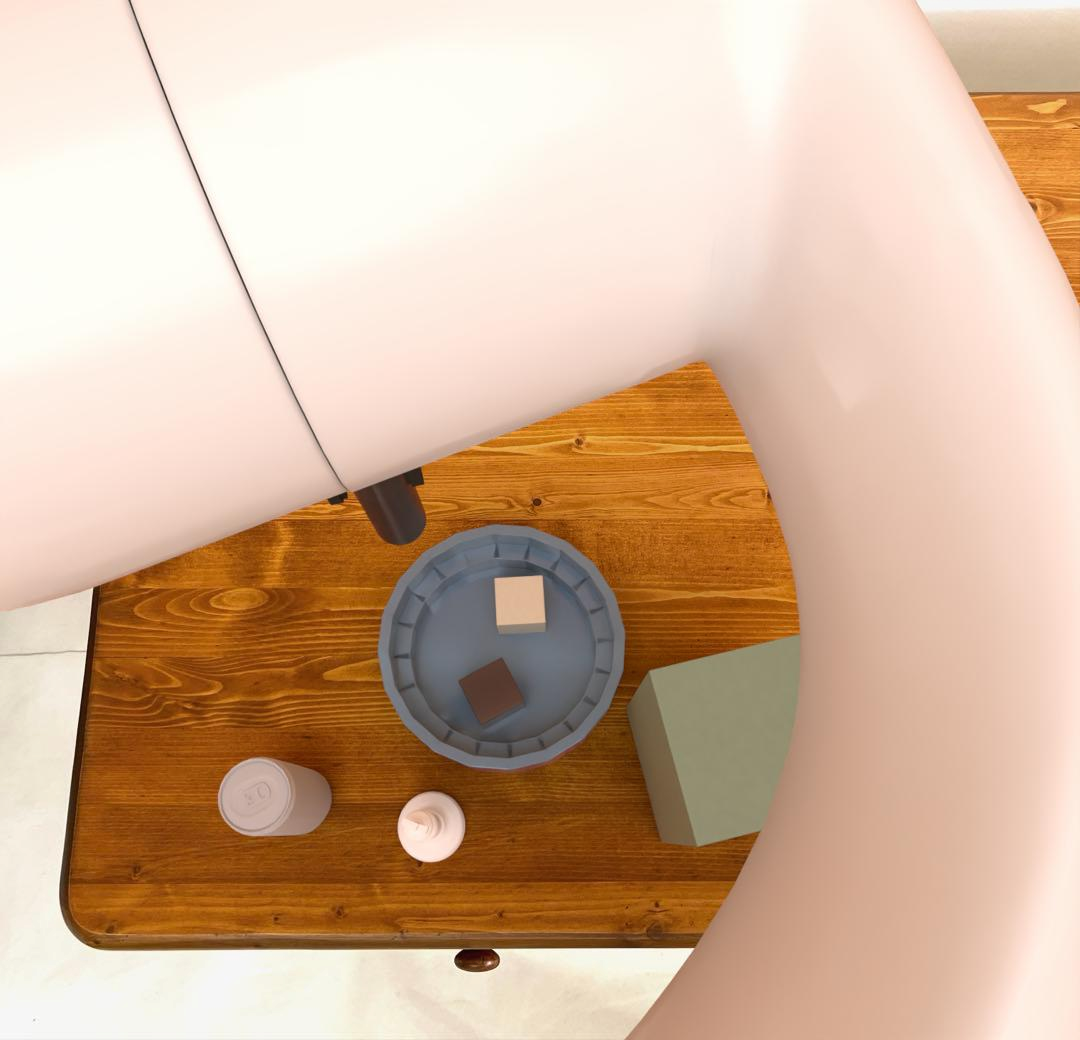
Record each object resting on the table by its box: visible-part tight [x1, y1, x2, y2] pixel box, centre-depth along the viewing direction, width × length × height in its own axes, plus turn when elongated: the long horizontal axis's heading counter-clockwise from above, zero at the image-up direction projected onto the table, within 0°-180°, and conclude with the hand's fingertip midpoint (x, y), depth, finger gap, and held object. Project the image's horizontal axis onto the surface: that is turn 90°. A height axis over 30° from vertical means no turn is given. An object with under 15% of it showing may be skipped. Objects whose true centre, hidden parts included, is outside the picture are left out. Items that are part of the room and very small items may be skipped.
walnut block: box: [458, 658, 526, 729], centre depth 72 cm, size 4×4×4 cm
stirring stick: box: [353, 474, 427, 546], centre depth 42 cm, size 3×3×14 cm
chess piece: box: [397, 790, 466, 863], centre depth 67 cm, size 5×5×10 cm
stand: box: [625, 633, 801, 848], centre depth 64 cm, size 10×10×18 cm
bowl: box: [376, 523, 626, 775], centre depth 73 cm, size 18×18×6 cm
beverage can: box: [217, 756, 333, 837], centre depth 66 cm, size 5×5×12 cm
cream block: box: [494, 575, 546, 635], centre depth 74 cm, size 4×4×4 cm
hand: (371, 460), depth 41 cm, fingers closed on stirring stick, 2 cm apart
